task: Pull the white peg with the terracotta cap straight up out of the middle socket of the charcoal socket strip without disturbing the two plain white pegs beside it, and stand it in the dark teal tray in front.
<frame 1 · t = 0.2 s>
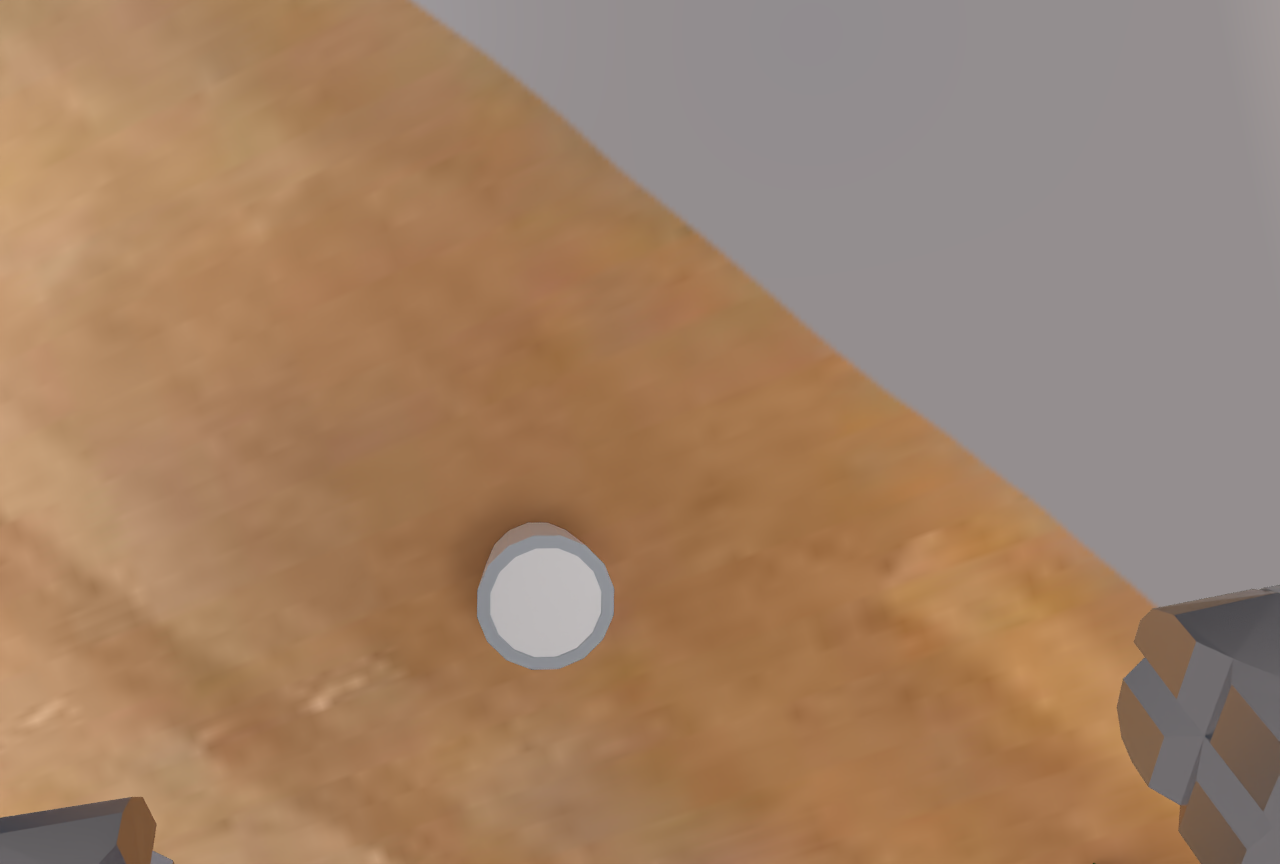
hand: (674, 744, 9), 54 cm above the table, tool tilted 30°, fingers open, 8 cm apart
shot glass: (536, 571, 64), on the table
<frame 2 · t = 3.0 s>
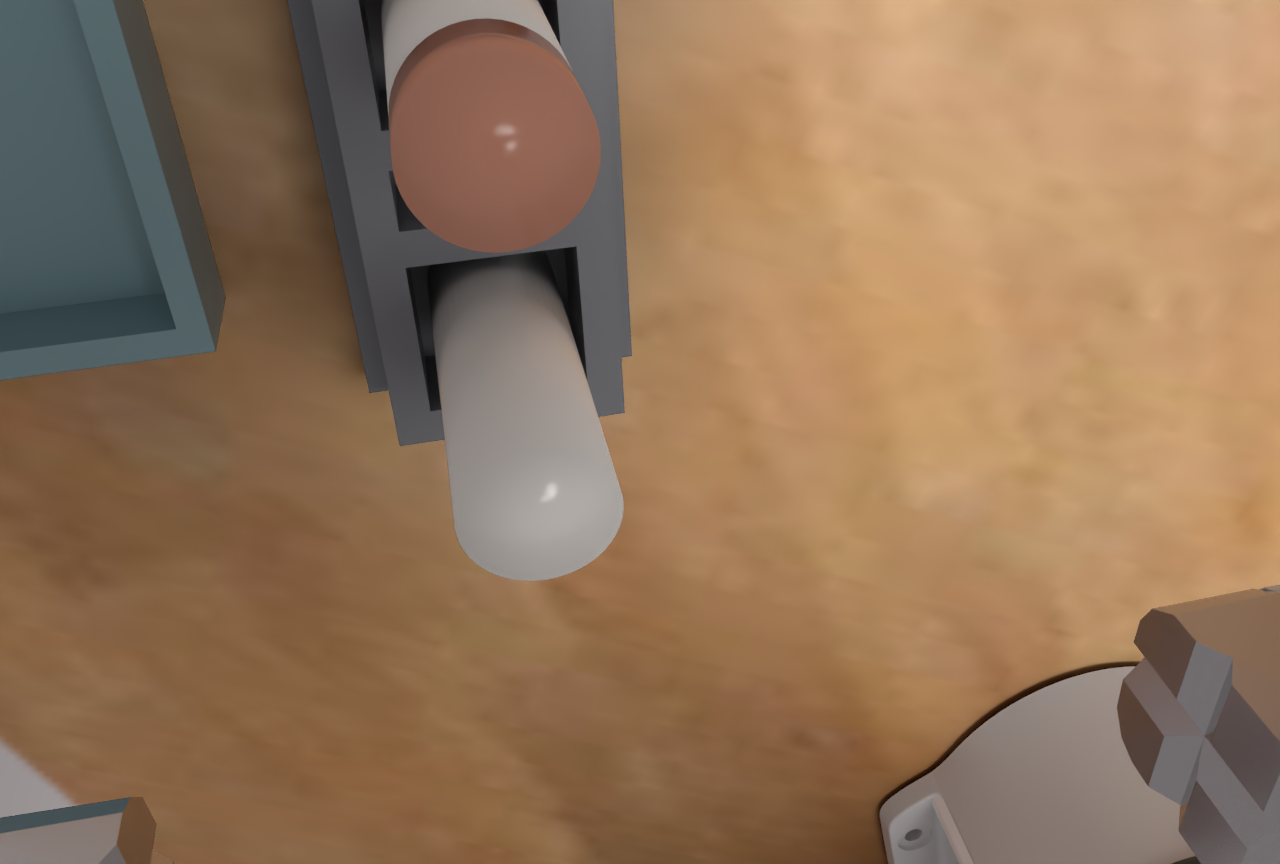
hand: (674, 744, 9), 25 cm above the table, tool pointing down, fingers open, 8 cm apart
plain peg 2: (490, 280, 34), point 1 cm above the table, touching socket strip
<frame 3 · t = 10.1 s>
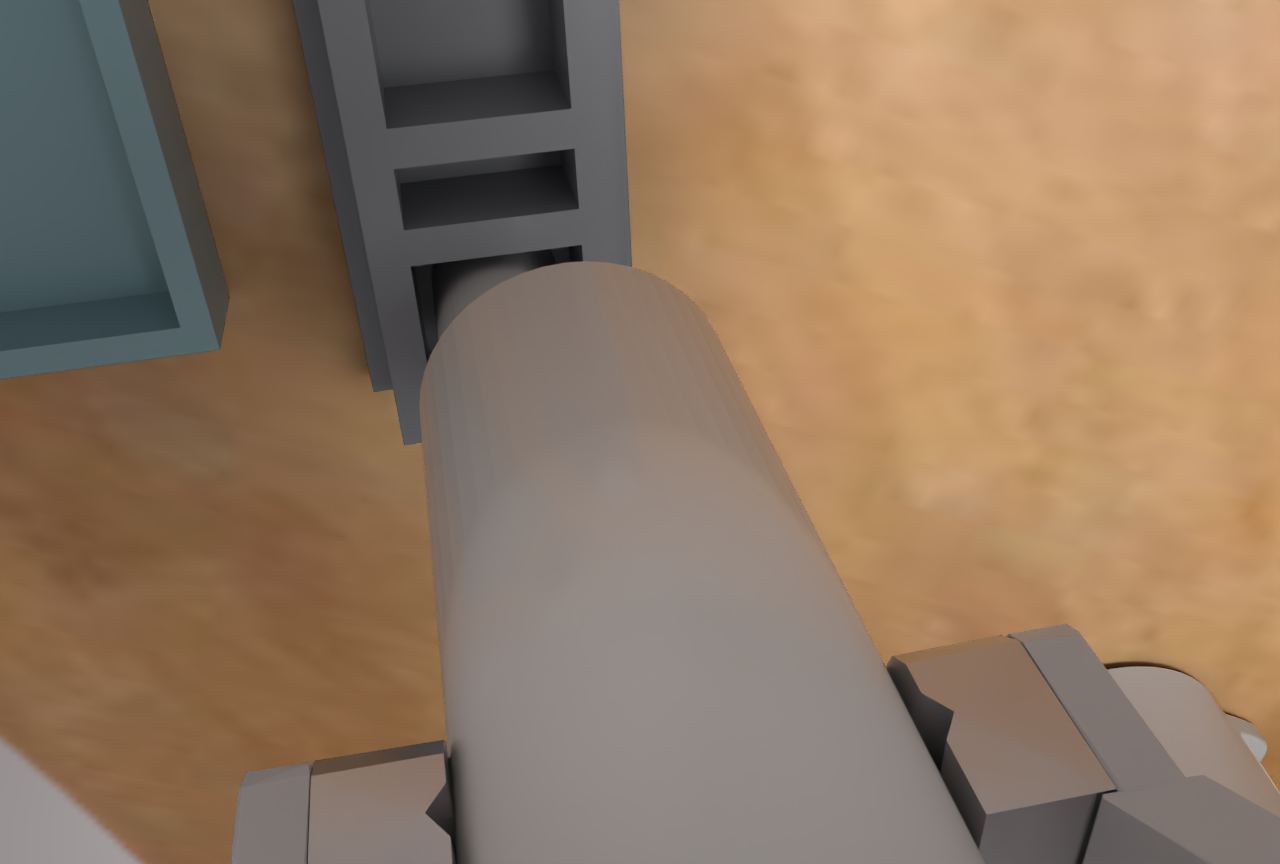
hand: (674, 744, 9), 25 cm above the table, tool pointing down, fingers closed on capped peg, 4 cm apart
capped peg: (576, 401, 14), point 20 cm above the table, touching gripper
plain peg 2: (495, 279, 33), point 1 cm above the table, touching socket strip
when the fingers open (7 cm above the table, at t = 14.5 s): capped peg drops 1 cm, resting on tray.
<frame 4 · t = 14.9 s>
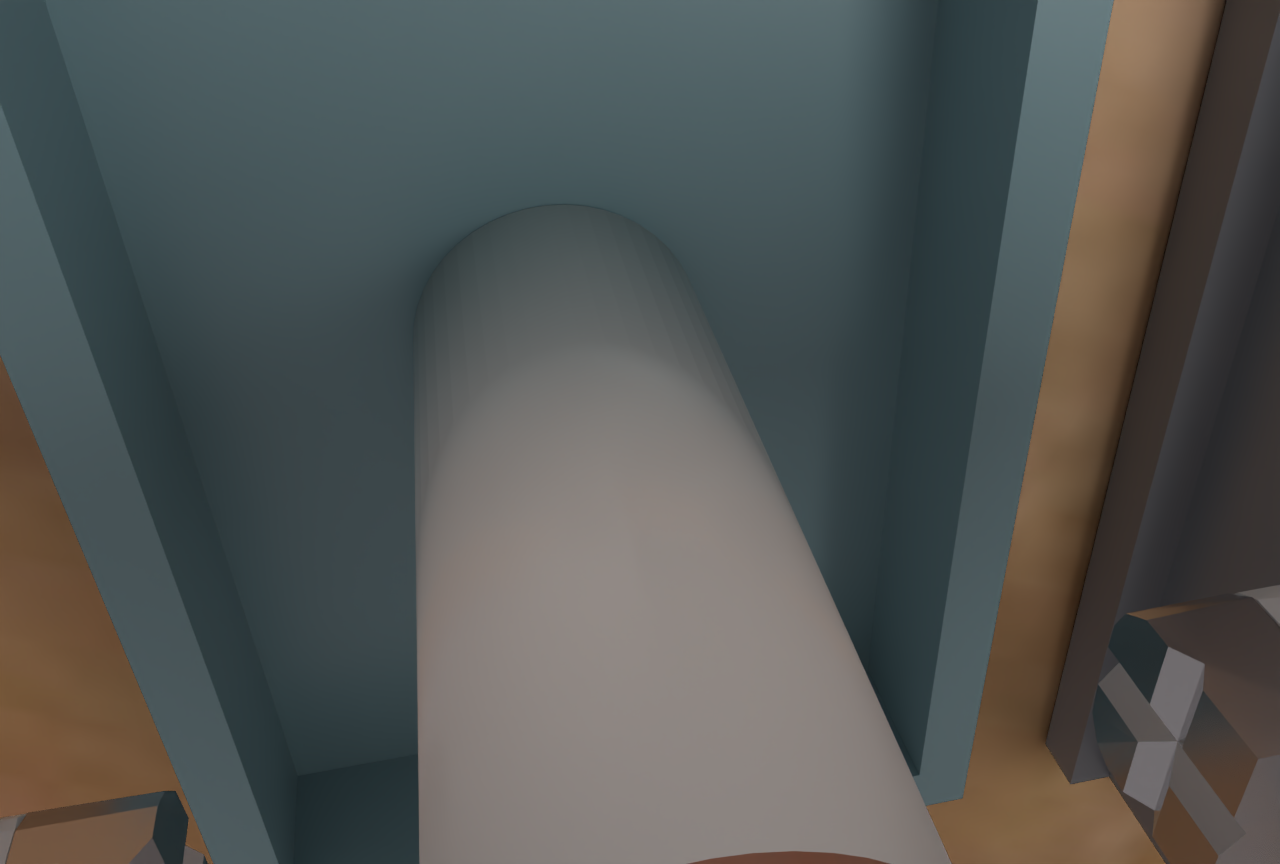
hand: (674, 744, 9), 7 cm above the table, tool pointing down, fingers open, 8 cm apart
tray: (548, 310, 15), on the table
capped peg: (558, 338, 15), point 1 cm above the table, touching tray
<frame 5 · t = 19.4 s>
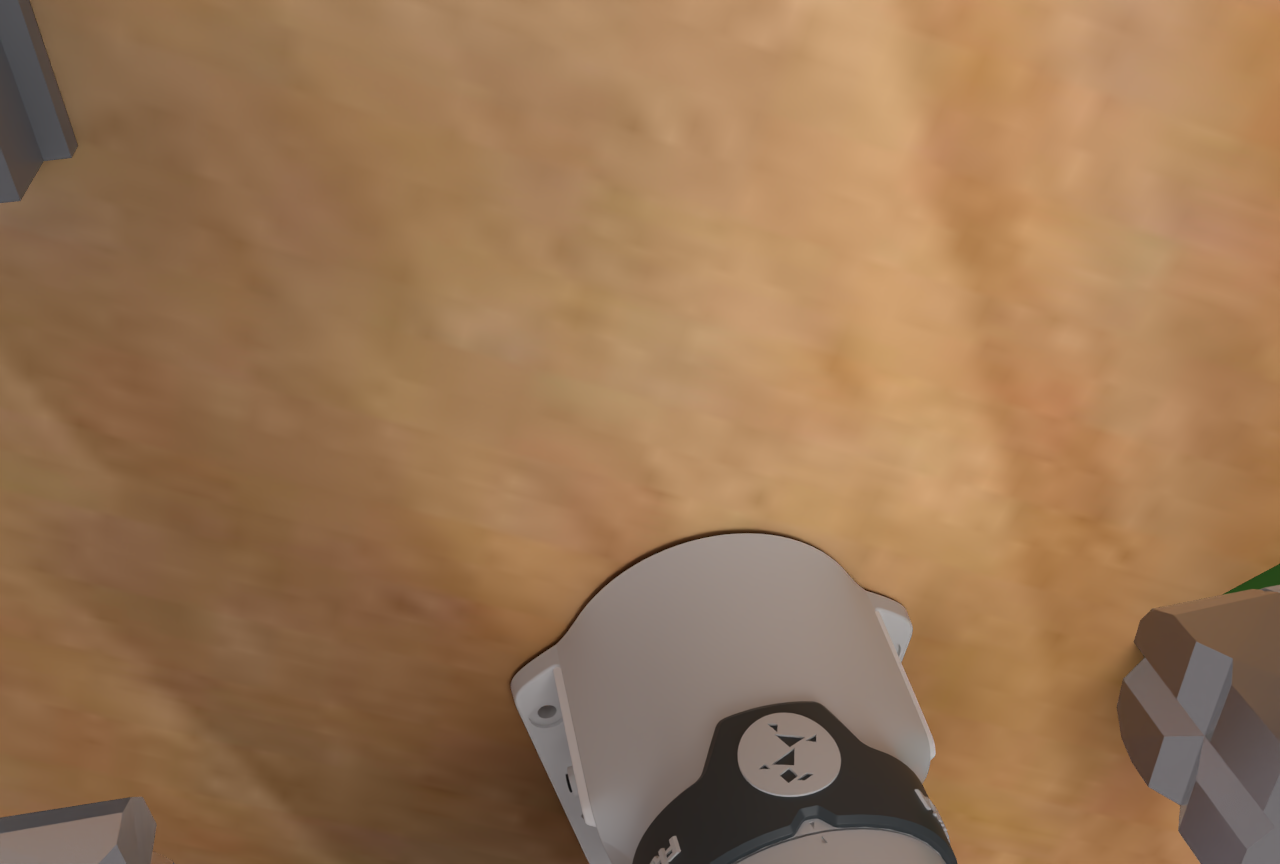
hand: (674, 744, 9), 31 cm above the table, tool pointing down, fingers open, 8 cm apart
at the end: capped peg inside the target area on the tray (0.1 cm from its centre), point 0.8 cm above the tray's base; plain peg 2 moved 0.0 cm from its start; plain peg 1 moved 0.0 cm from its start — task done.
